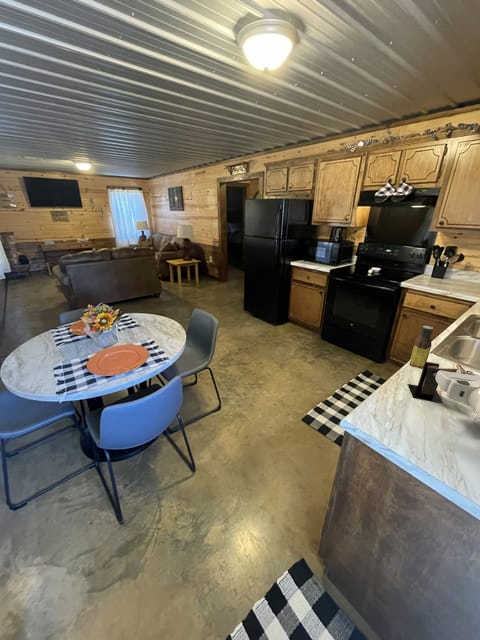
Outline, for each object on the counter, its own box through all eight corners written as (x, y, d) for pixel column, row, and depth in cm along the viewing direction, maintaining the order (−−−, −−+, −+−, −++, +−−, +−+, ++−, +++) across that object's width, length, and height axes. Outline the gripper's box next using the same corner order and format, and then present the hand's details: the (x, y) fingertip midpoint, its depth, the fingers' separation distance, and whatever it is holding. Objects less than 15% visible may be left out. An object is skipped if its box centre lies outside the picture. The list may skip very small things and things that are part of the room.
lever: (460, 368, 98) (460, 362, 98) (468, 379, 92) (469, 373, 92) (425, 367, 102) (425, 362, 102) (431, 377, 96) (431, 372, 95)
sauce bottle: (426, 371, 119) (439, 331, 111) (410, 368, 120) (422, 329, 113) (422, 363, 124) (434, 325, 116) (407, 361, 126) (418, 323, 118)
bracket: (434, 391, 106) (445, 362, 100) (442, 406, 98) (454, 375, 92) (406, 386, 109) (415, 357, 103) (412, 400, 101) (422, 370, 95)
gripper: (529, 394, 78) (503, 369, 90) (447, 381, 84) (433, 359, 96) (520, 410, 80) (495, 384, 92) (441, 396, 86) (428, 373, 98)
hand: (463, 371), depth 94 cm, fingers closed on lever
